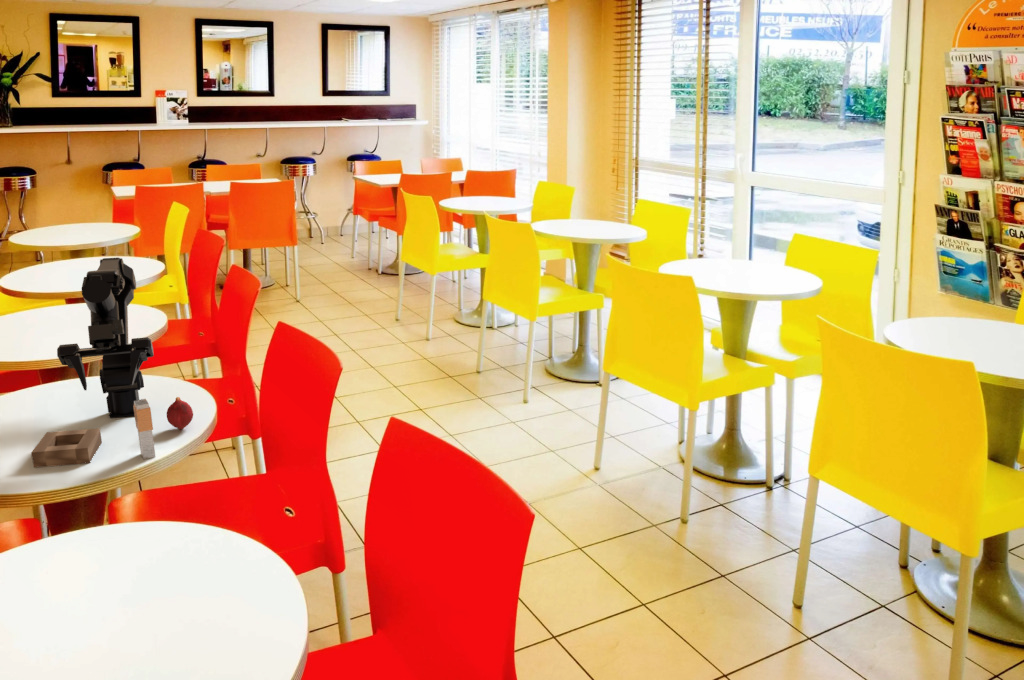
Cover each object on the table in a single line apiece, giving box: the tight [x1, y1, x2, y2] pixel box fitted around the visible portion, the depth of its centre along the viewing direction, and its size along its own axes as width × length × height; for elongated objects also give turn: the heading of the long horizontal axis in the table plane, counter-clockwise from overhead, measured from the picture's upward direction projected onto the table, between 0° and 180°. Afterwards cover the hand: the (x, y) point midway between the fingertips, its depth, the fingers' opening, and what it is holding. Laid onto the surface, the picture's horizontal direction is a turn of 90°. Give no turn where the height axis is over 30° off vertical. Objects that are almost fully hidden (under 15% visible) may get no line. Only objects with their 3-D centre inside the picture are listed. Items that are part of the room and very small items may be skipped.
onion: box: [166, 396, 194, 430], centre depth 199 cm, size 6×6×8 cm
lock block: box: [30, 427, 103, 469], centre depth 186 cm, size 11×11×4 cm
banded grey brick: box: [133, 398, 156, 460], centre depth 185 cm, size 4×3×12 cm
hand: (108, 387), depth 185 cm, fingers open, 9 cm apart
